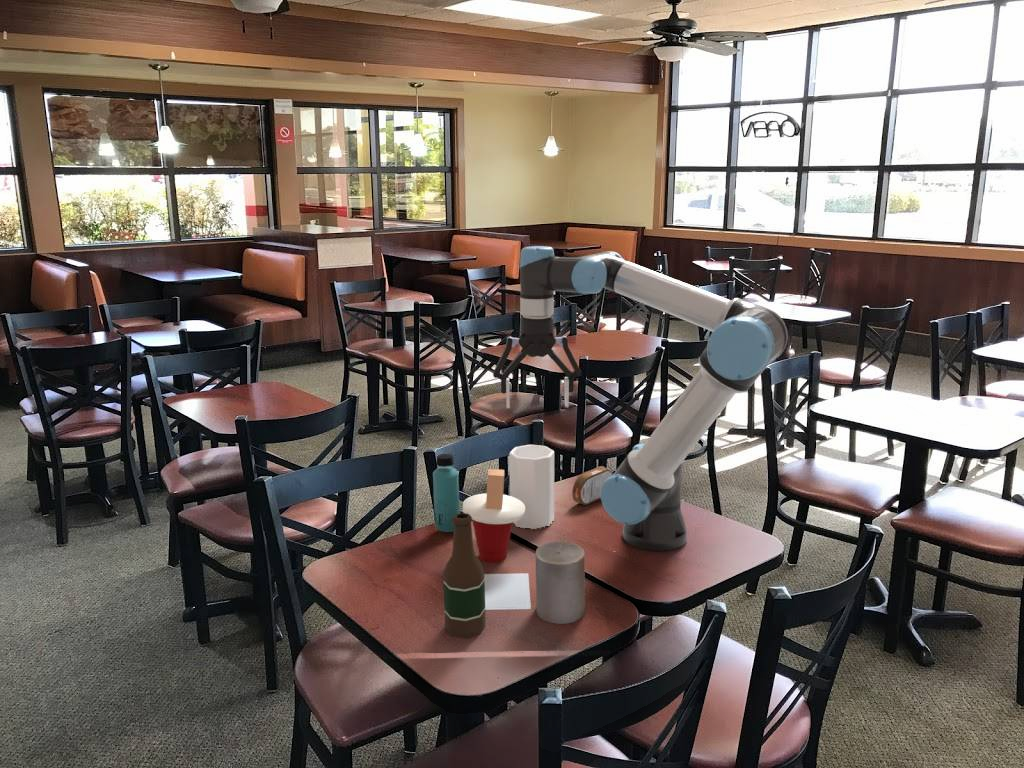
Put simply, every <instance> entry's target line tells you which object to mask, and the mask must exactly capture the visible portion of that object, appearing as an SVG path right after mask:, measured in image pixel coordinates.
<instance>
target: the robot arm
mask: <svg viewBox="0 0 1024 768" xmlns="http://www.w3.org/2000/svg"><path fill="white" fill-rule="evenodd" d="M554 251H555V250H554V248H553V247H552V246H547V245H546V246H544V245H542V246H541V245H533V246H525V247H523V248H522V249H521V251H520V258H519V263H520V264H519V275H520V276H519V278H520V280H519V282H520V284H519V286H520V292H519V293H520V298H519V305H520V308H519V310H520V312H519V314H520V315H521V317H520V325H519V326H520V335H519V337H512V336H511V335H509V336H507V337H506V345H505V347H504V350H503V351H502V354H501V356H500V357H499V359H498V362H497V364H496V366H495V368H494V370H493V371H492V376H493V378H495V379H499V380H500V391H501V394H505V395H506V396H505V398H506V399H505V400H506V401H505V402H506V406H505V407H506V409H510V407H511V399H510V398H511V397H510V391H511V390H510V378H509V377H510V375H511V374H512V373H513V372H514V370H515V369H517V367H518V366H519V365H520V364H521V363H522V361H523V360H524V359H525V358H526V357H527V356H528V357H530V358H535V357H542V358H544V357H545V356H548V357H549V358H550V359H551V360H552V361H553V362H554V363H555V364H556V366H557V367H559V369H560V370H561V371H562V372H563V373H564V374H565V376H564V407H565V408H569V407H570V400H569V399H570V398H569V397H570V396H569V395H570V394H569V393H573V392H574V386H575V385H574V382H575V381H574V379H576V378H578V377H581V376H582V371H581V369H580V367H579V365H578V362H577V361H576V359H575V357H574V355H573V352H572V350H571V349H570V347H569V343H568V341H569V339H568V337H567V336H566V335H564V334H563V335H562V336H559V337H557V336H556V337H555V335H554V333H555V332H554V327H555V323H554V321H555V320H554V319H555V318H554V316H553V315H554V313H555V312H554V309H555V308H554V305H555V302H554V299H555V298H554V296H555V295H554V294H555V293H554V292H566V293H567V292H568V293H575V294H576V293H578V294H582V295H588V294H599V293H601V291H603V289H606V290H608V291H610V292H611V291H612V293H616V294H619V295H621V296H624V297H627V298H629V299H631V300H634V301H637V302H639V303H641V304H643V305H646V306H649V307H650V308H651V307H652V308H654V309H657V310H659V311H660V312H662V313H666V314H668V315H671V316H673V317H676V318H678V319H681V320H684V321H685V322H688V323H690V324H693V325H694V326H695V325H696V326H698V327H701V328H703V329H705V330H708V331H710V332H711V334H710V336H709V338H708V340H707V344H706V347H705V348H704V350H703V351H702V353H701V354H700V356H699V357H698V364H699V369H698V371H697V372H696V373H695V375H694V376H693V377H692V379H691V381H690V382H688V385H687V386H686V387H685V389H684V390H683V391H682V392H681V394H680V395H679V397H678V398H677V399H676V401H675V402H674V404H673V405H672V406H671V408H670V409H669V410H668V411H667V413H666V414H665V415H664V417H663V419H661V421H660V422H659V424H658V425H657V426H656V428H655V429H654V431H653V432H652V433H651V435H650V436H649V438H648V439H647V440H646V442H645V443H637V444H636V445H634V446H633V447H632V450H631V451H629V453H628V454H627V456H626V457H625V458H624V460H623V461H622V462H621V464H620V465H619V466H618V467H617V469H616V471H615V472H614V473H613V475H611V476H609V477H608V478H607V479H606V480H605V482H604V483H603V485H602V487H601V490H600V498H601V499H600V500H601V505H602V507H603V508H604V511H605V512H606V513H607V515H608V516H610V518H612V519H613V520H615V521H616V522H618V523H620V524H623V526H622V527H623V528H622V538H623V540H624V541H625V542H627V544H629V545H631V546H633V547H634V548H637V549H641V550H645V551H653V552H663V551H664V552H665V551H667V552H668V551H672V550H676V549H678V548H681V547H683V546H684V545H685V544H686V543H687V539H688V531H687V526H686V523H685V519H684V516H683V512H682V509H681V503H682V502H681V501H682V485H683V484H682V483H683V482H682V481H683V467H684V466H683V465H684V461H685V459H686V458H687V456H688V455H689V454H690V453H691V452H692V450H693V449H694V447H695V446H696V445H697V443H698V442H699V441H700V440H701V438H702V437H703V436H704V435H705V434H706V432H707V430H708V429H709V428H710V427H711V426H712V424H713V423H714V422H715V420H716V419H717V418H718V417H719V416H720V414H721V413H722V412H723V410H724V409H725V408H726V407H727V405H728V404H729V402H730V401H731V400H732V399H733V398H734V396H735V395H736V394H742V393H747V392H748V391H749V389H750V388H751V387H752V386H753V384H754V383H755V382H756V380H758V378H759V377H760V376H761V374H762V373H763V372H764V370H766V368H767V367H768V366H769V365H770V364H771V363H773V362H774V361H776V360H777V359H778V358H779V357H780V356H781V355H782V354H783V352H784V350H785V349H786V346H787V343H788V341H789V339H788V338H789V334H788V332H789V331H788V328H787V326H786V323H785V321H784V320H783V318H782V317H781V316H780V315H779V314H778V313H776V311H774V310H771V309H770V308H768V307H764V306H762V305H759V304H756V303H754V302H753V303H752V302H751V301H747V300H745V299H742V298H741V297H740V298H739V297H735V298H733V299H728V298H726V297H724V296H720V295H717V294H715V293H712V292H709V291H708V290H704V289H701V288H699V287H696V286H694V285H691V284H689V283H686V282H683V281H681V280H679V279H675V278H673V277H670V276H667V275H665V274H662V273H659V272H657V271H654V270H651V269H649V268H647V267H644V266H641V265H639V264H636V263H634V262H630V261H627V260H625V259H624V258H623V257H622V255H620V254H619V253H618V252H616V251H608V250H606V251H600V252H596V253H593V254H589V255H588V254H587V255H583V256H578V257H576V256H575V257H571V256H570V257H567V256H561V257H560V256H556V255H555V252H554ZM517 344H518V345H519V346H520V347H521V350H520V351H519V352H518V354H517V355H516V356H515V358H513V360H512V361H511V362H510V363H509V364H508V365H507V367H506V368H505V369H504V370H503V367H504V366H505V363H506V361H507V360H508V357H509V355H510V353H511V351H512V348H515V347H516V345H517ZM556 344H558V345H559V347H561V348H563V351H564V354H565V355H566V357H567V359H568V361H569V363H570V365H571V367H572V368H573V371H571V369H569V367H568V366H567V365H566V363H564V361H562V359H561V358H560V357H559V356H558V355H557V353H556V352H555V350H553V347H554V346H555V345H556ZM502 370H503V372H502Z"/></svg>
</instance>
